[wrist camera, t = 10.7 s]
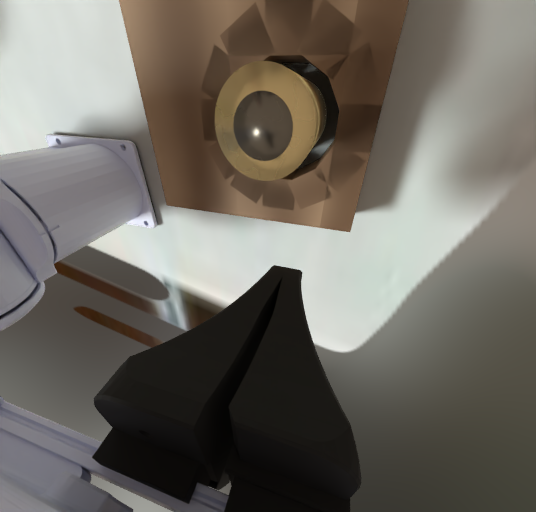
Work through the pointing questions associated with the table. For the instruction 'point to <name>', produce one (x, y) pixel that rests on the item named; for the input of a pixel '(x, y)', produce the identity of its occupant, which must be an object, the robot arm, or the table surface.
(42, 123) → the table surface
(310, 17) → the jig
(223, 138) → the bushing
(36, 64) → the table surface
